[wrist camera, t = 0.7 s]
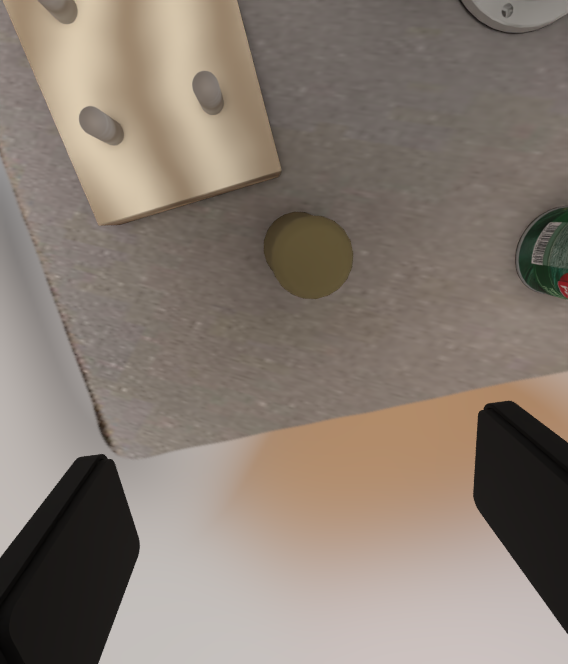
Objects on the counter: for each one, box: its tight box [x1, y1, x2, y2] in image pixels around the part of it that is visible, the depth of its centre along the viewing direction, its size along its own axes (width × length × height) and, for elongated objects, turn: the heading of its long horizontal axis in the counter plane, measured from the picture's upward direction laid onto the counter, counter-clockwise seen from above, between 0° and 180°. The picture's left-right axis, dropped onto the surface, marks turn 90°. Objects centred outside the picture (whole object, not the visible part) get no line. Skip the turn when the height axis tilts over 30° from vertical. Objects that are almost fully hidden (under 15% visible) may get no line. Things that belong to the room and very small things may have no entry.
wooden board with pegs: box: [3, 0, 281, 225], centre depth 24 cm, size 14×18×7 cm
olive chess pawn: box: [264, 212, 353, 299], centre depth 27 cm, size 6×6×11 cm
